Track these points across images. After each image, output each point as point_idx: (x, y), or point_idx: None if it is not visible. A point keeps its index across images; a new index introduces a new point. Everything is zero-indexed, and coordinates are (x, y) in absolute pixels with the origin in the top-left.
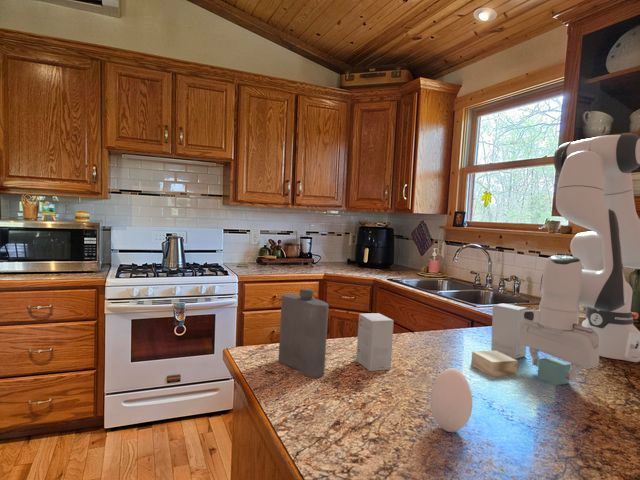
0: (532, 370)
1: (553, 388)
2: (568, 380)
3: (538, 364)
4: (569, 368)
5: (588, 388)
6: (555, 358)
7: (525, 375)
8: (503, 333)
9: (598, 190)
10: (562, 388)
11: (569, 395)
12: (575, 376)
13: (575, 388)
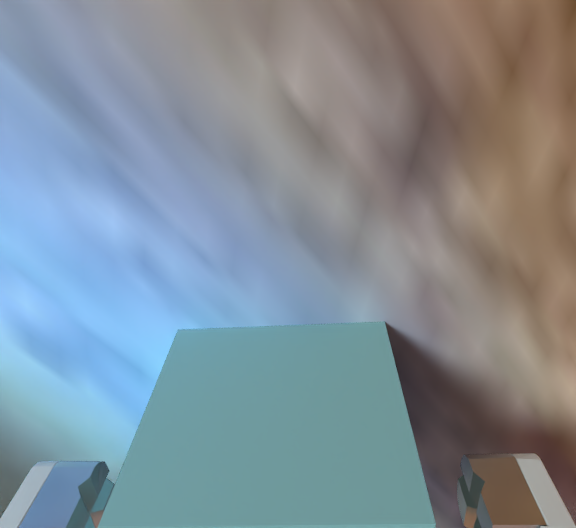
0: (43, 390)
1: None
2: (390, 349)
3: (104, 509)
4: (419, 472)
5: (566, 244)
6: (152, 525)
7: None
8: None
9: None
10: (448, 461)
11: None
12: (551, 492)
13: (498, 369)
